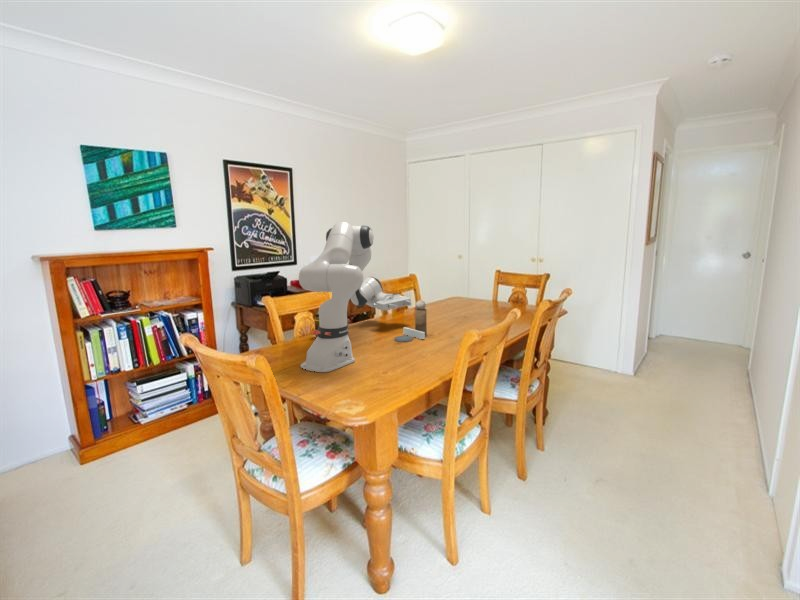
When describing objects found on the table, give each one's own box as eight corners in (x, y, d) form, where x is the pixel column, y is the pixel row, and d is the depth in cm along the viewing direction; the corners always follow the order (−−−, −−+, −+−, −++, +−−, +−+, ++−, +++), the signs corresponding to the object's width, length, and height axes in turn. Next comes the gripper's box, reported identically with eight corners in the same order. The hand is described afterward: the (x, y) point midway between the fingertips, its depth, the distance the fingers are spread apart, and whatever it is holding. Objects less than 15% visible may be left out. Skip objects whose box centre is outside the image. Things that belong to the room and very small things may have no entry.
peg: (423, 337, 192) (423, 301, 189) (413, 335, 195) (412, 300, 192) (428, 334, 197) (428, 299, 194) (418, 333, 200) (417, 298, 197)
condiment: (311, 338, 194) (310, 314, 192) (324, 334, 201) (322, 311, 199) (322, 340, 190) (320, 315, 188) (334, 336, 197) (333, 312, 195)
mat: (408, 343, 183) (408, 341, 183) (391, 340, 187) (391, 339, 187) (416, 338, 191) (416, 336, 191) (399, 336, 195) (399, 334, 195)
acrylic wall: (424, 339, 188) (424, 332, 187) (423, 340, 187) (423, 332, 187) (405, 333, 198) (404, 327, 198) (403, 334, 198) (403, 327, 197)
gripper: (370, 298, 205) (388, 302, 195) (399, 293, 219) (417, 296, 209) (371, 310, 207) (388, 315, 197) (400, 304, 220) (417, 308, 210)
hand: (403, 305), depth 203 cm, fingers open, 8 cm apart
